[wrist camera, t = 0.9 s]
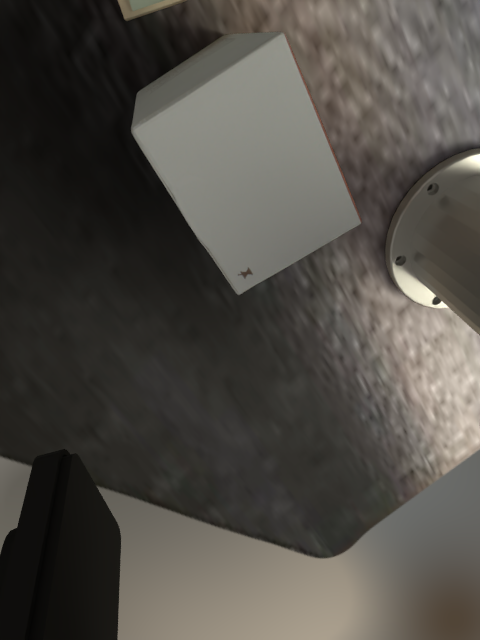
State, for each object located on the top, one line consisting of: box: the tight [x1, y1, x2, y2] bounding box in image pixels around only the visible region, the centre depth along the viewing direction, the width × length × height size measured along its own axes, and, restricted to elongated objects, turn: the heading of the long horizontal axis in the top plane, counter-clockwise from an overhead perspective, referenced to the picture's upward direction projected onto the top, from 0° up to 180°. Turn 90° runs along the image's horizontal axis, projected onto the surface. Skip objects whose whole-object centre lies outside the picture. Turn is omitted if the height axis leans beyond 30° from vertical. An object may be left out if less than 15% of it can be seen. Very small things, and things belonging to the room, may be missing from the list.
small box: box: [131, 32, 362, 295], centre depth 23 cm, size 8×6×13 cm
